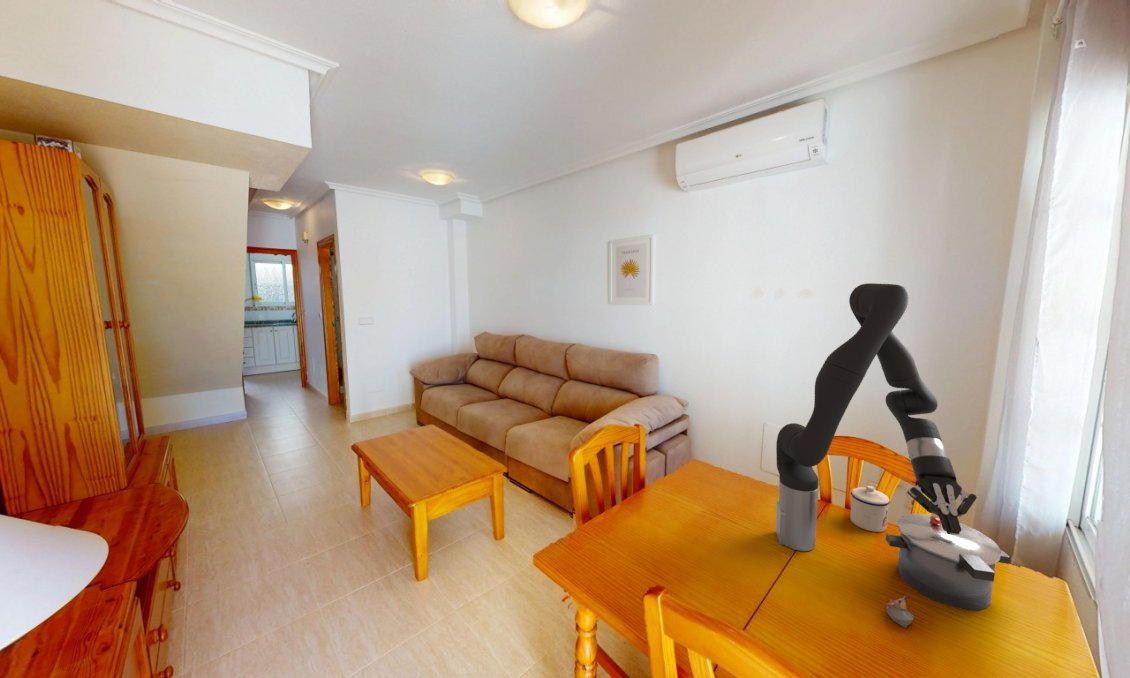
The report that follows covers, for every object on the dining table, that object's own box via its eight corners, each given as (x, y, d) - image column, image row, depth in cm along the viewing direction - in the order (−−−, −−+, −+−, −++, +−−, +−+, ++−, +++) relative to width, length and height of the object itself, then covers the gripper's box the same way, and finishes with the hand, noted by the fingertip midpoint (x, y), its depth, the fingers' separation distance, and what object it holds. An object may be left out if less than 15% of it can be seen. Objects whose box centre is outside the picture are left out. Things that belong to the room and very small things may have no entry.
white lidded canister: (891, 536, 111) (894, 497, 110) (852, 528, 115) (855, 491, 114) (880, 513, 122) (882, 478, 120) (844, 507, 126) (846, 473, 124)
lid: (885, 513, 103) (886, 504, 103) (969, 524, 98) (970, 514, 97) (930, 571, 83) (931, 560, 82) (1040, 589, 77) (1041, 577, 77)
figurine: (908, 633, 81) (911, 604, 81) (882, 619, 84) (884, 592, 84) (916, 623, 84) (918, 595, 84) (890, 611, 88) (892, 584, 87)
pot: (900, 598, 90) (904, 553, 88) (870, 549, 106) (873, 511, 105) (1028, 621, 83) (1035, 573, 81) (975, 565, 99) (979, 524, 98)
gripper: (903, 451, 99) (924, 525, 89) (970, 457, 94) (1001, 535, 84) (892, 462, 104) (911, 532, 94) (955, 468, 100) (982, 542, 90)
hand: (953, 533), depth 89 cm, fingers closed
